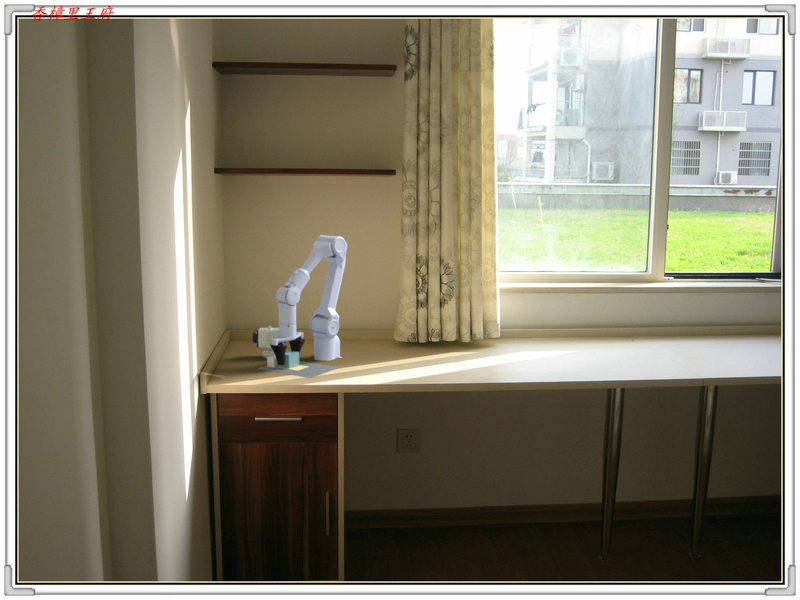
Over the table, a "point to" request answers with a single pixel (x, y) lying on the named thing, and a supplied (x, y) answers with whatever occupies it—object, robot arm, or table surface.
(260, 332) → the pneumatic valve
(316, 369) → the mat
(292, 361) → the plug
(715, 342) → the table surface
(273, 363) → the header
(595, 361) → the table surface
